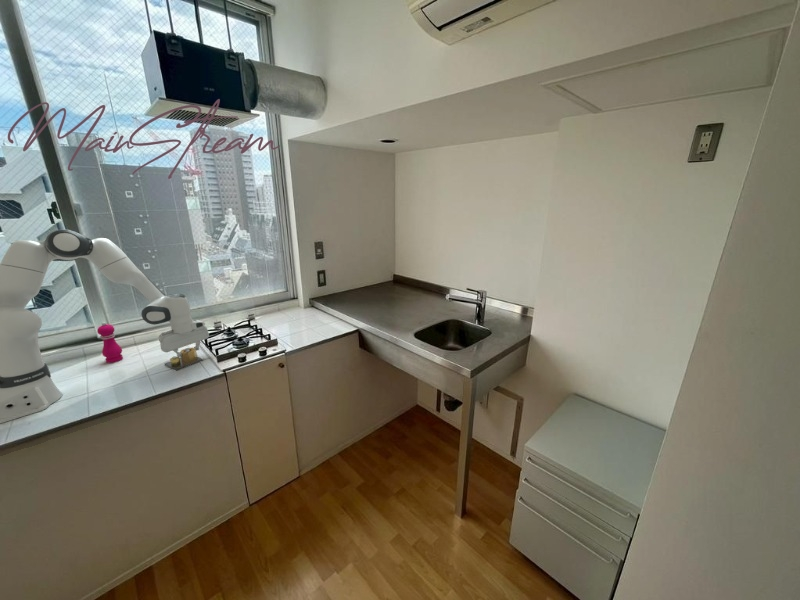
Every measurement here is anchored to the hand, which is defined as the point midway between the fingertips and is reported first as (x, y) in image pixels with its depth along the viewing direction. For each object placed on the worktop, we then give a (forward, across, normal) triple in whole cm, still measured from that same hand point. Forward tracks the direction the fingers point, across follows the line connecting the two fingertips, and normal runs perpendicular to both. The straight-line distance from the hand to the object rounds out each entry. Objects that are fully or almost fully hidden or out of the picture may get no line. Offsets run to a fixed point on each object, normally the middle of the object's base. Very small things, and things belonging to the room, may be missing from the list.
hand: (188, 353), depth 153 cm
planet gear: (+3, 0, 0) cm, 3 cm away
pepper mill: (+4, -19, +33) cm, 38 cm away
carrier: (+4, -3, 0) cm, 5 cm away
